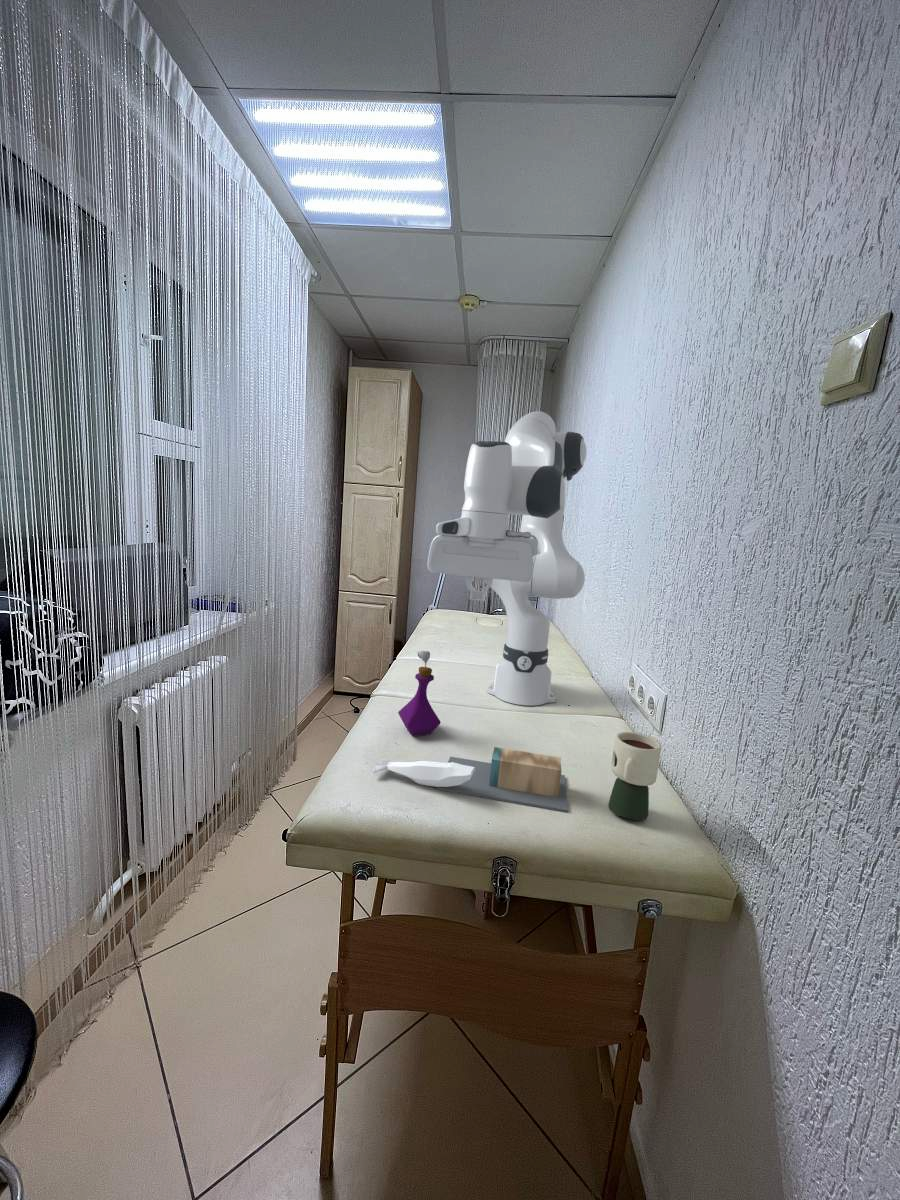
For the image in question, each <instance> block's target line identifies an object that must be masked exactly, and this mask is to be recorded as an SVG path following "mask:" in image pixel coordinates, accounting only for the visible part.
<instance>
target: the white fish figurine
mask: <svg viewBox="0 0 900 1200" xmlns="http://www.w3.org/2000/svg"><path fill="white" fill-rule="evenodd" d="M475 768H476V767H472V766H466V765H461V764H458V763H454V762H451V763H448V762H439V761H429V760H418V761H412V762H411V761H407V762H406V761H394V762H393V761H390V759H389V758H386V757H383V758H382V759H381V760H379V762H377V764H375V766H374V767H373V770H372V773H378V772H382V771H386V770H389V771H391V772H394V773H397V774H400V775H402V776H404V777H406V778H408V779H410V780H411V781H413V782H415V783H416V784H418V785H422V786H428V787H436V788H438V787H449V786H456V785H461V784H462V783H464V782H466V781H468V780H470V779H471V777H472V775H473V774H474V772H475Z"/></svg>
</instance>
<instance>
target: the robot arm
mask: <svg viewBox="0 0 900 1200" xmlns="http://www.w3.org/2000/svg"><path fill="white" fill-rule="evenodd" d="M587 453H588V452H587V444H586V442H585V439H584V437H583V436H582V435H581V433H579V432H575V431H567V432H560V431H559V432H557V429H556V424H555V421H554V420H553V418H552V417H551V416H550V415H549V414H548V413H546V412H544V411H540V410H538V411H531V412H529V413H526V414H525V415H523V416H522V417H521V418H519V419H518V420H517V421H516V422H515V423H514V424H513V425H512V427H511V428H510V429H509V431H508V432H507V434H506V435H505V440H504V441H498V440H497V441H494V440H487V441H486V440H485V441H484V440H480V441H479V440H478V441H476V442H473V443H472V444H471V445H470V448H469V453H468V456H467V461H466V466H465V474H464V484H463V490H464V502H463V506H462V508H461V516H460V517H459V518H452V519H450V520H446V521H442V522H438V523H437V524H436V528H435V532H436V534H437V535H436V536H435V537H434V538H433V539H432V540H431V543H430V546H429V551H428V554H427V555H428V558H427V564H426V565H427V566H426V567H427V569H428V571H429V572H430V573H432V574H442V575H443V574H444V575H453V576H463V577H465V579H464V581H465V584H466V587H467V589H468V591H469V601H476V602H477V601H478V602H485V601H486V598H487V597H486V593H487V592H488V590H489V589H490V588H491V589H492V591H493V592H495V593H496V594H497V595H498V597H499V599H500V600H501V602H502V603H503V606H504V608H505V612H506V623H507V624H506V637H505V638H506V639H505V640H506V641H505V643H504V645H503V648H502V649H503V650H502V659H501V660H500V661H499V662H498V663H497V664H496V667H495V674H494V682H492V684H490V685H489V686H488V687H487V689H486V693H488V694H490V695H492V696H495V697H496V698H498V699H499V700H502V701H504V702H506V703H510V704H512V705H513V704H514V705H519V706H532V707H533V706H540V705H544V704H549V703H557V702H556V701H557V697H556V696H555V694H554V693H553V691H552V689H551V686H552V685H551V683H552V670H551V669H550V668H549V666H548V664H547V663H548V660H549V659H548V658H549V649H548V641H549V633H550V626H551V625H550V620H549V618H548V616H547V615H546V614H545V613H543V612H542V610H541V611H540V610H539V609H538V608H535V606H533V605H532V604H531V603H530V600H529V598H530V597H537V598H538V597H539V598H547V599H557V600H560V599H570V598H571V599H572V598H575V597H577V596H578V595H579V593H581V591H582V590H583V588H584V585H585V576H586V575H585V572H584V568H583V566H582V565H581V563H580V562H579V561H578V560H576V559H575V558H574V557H573V556H572V555H571V554H570V551H568V550H567V548H566V545H565V542H564V538H563V523H564V522H563V521H564V515H565V506H566V494H565V493H566V487H565V486H566V485H565V478H566V481H567V482H569V481H572V479H573V477H574V476H575V475H577V474H578V473H579V472H580V471H581V469H582V468H583V467H584V463H585V460H586V458H587ZM509 515H521V516H522V517H521V520H520V521H521V522H520V529H519V531H517V530H508V525H509V523H508V522H509ZM538 552H539V553H538ZM537 553H538V554H537ZM475 578H482V579H483V578H484V580H483V581H484V582H483V583H484V584H485V587H484V588H483V589H482V590H475V588H474V586H473V584H472V583H473V582H474V580H475Z"/></svg>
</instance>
